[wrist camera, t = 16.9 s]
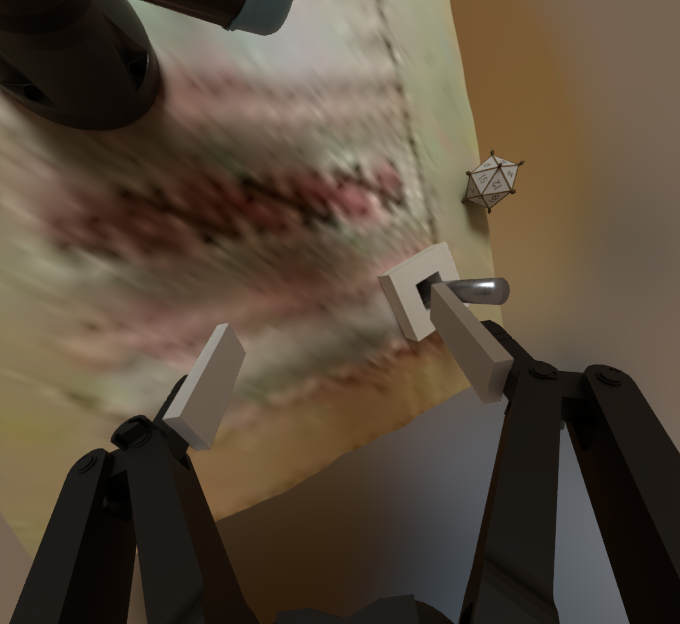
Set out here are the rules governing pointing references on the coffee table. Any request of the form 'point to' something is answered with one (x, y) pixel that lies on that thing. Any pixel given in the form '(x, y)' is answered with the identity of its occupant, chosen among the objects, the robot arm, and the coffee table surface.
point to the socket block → (404, 293)
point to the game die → (491, 181)
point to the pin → (471, 290)
